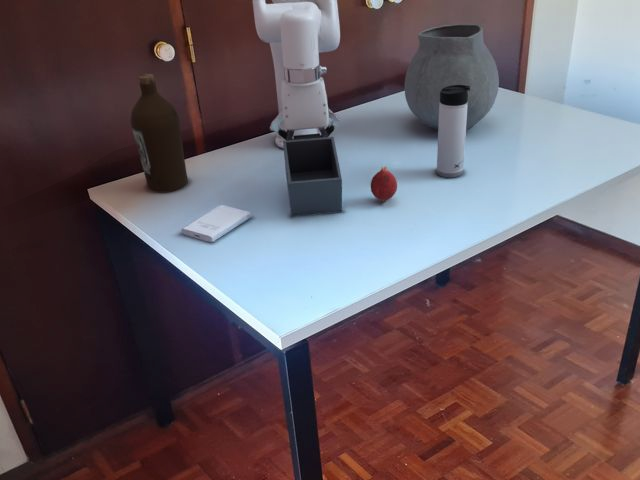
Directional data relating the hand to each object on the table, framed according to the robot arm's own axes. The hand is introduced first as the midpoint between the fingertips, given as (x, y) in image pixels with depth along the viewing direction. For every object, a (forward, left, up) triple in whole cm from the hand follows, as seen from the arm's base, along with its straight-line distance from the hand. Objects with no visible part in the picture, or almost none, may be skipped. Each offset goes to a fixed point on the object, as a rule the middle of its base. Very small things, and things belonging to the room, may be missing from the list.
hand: (308, 155), depth 160 cm
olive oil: (-30, -16, -7) cm, 35 cm away
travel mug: (+26, +21, -7) cm, 34 cm away
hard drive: (-5, -27, -7) cm, 28 cm away
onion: (+20, 0, -7) cm, 21 cm away
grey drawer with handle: (+4, -5, -4) cm, 8 cm away
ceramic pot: (+12, +49, -7) cm, 51 cm away
